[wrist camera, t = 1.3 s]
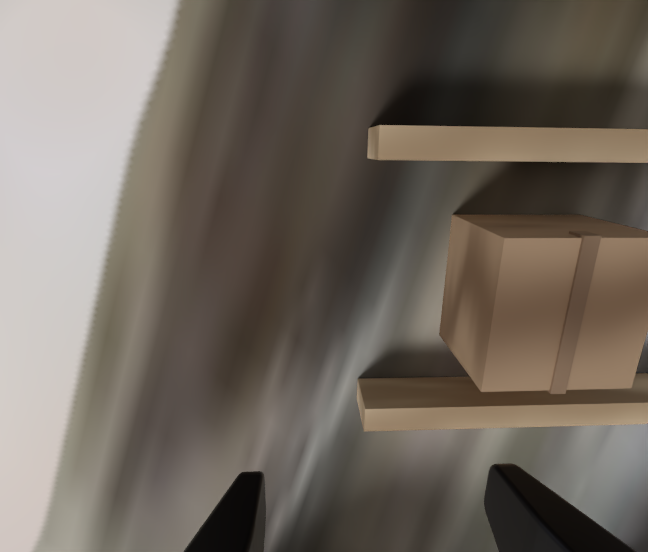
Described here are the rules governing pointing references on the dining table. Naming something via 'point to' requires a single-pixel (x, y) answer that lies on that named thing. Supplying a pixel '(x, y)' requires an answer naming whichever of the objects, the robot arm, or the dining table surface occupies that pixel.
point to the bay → (461, 392)
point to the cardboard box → (545, 301)
